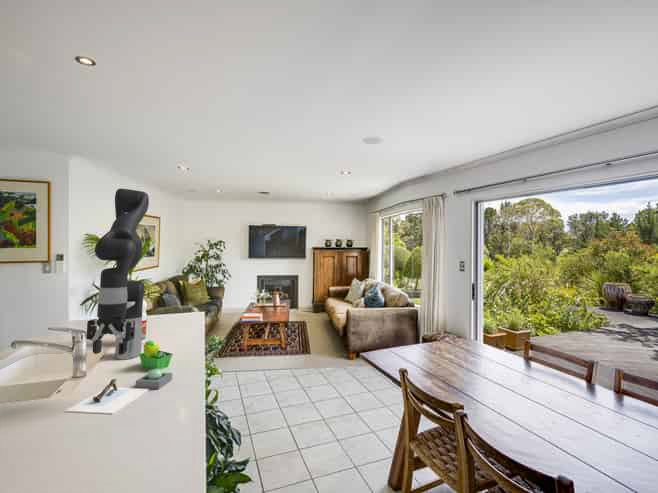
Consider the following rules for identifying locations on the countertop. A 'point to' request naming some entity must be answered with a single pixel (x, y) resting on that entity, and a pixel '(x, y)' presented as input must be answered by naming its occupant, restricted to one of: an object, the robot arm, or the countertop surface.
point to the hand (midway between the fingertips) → (109, 353)
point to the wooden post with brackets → (98, 398)
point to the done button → (154, 374)
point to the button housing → (153, 381)
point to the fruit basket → (154, 356)
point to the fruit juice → (144, 318)
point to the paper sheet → (108, 401)
